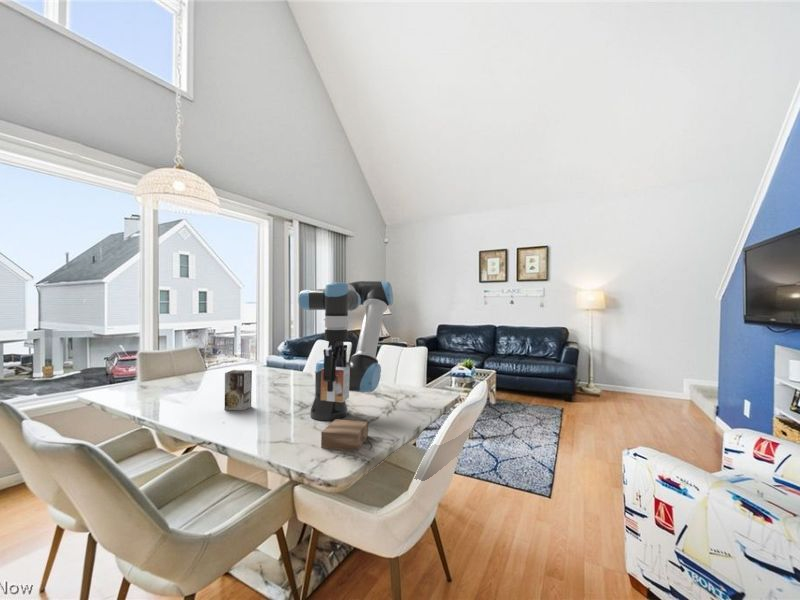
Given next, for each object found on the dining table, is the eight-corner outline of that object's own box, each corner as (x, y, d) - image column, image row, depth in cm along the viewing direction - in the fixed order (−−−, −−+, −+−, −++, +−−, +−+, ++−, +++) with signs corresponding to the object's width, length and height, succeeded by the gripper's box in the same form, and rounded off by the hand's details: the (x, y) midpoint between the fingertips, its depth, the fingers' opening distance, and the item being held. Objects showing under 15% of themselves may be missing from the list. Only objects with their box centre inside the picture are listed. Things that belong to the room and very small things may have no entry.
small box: (320, 400, 106) (320, 368, 106) (327, 396, 111) (328, 365, 111) (343, 402, 104) (343, 369, 104) (349, 397, 109) (350, 366, 109)
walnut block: (335, 433, 115) (335, 419, 115) (367, 436, 113) (368, 421, 113) (321, 447, 103) (321, 431, 103) (357, 451, 101) (357, 435, 101)
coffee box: (251, 406, 144) (252, 370, 144) (243, 411, 138) (244, 373, 138) (232, 405, 145) (233, 369, 145) (223, 410, 139) (224, 372, 139)
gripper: (337, 326, 118) (336, 390, 117) (312, 330, 100) (310, 405, 99) (357, 327, 116) (356, 391, 116) (334, 331, 98) (333, 407, 97)
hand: (335, 398), depth 107 cm, fingers closed on small box, 6 cm apart
